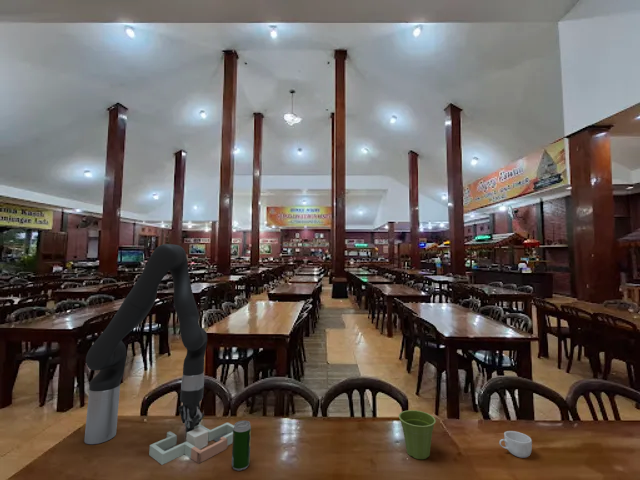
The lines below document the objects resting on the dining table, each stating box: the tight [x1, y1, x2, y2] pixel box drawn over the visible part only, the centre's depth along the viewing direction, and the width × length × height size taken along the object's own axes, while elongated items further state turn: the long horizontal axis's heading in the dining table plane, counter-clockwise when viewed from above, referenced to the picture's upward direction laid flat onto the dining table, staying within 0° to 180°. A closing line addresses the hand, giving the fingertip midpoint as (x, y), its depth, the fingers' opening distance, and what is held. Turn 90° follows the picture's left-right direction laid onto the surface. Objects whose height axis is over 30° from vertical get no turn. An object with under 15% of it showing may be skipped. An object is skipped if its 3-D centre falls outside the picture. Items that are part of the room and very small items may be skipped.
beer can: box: [231, 420, 252, 472], centre depth 94 cm, size 5×5×12 cm
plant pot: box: [398, 409, 437, 460], centre depth 101 cm, size 12×12×11 cm
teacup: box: [498, 430, 533, 459], centre depth 101 cm, size 10×8×5 cm
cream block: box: [185, 427, 209, 450], centre depth 104 cm, size 5×5×4 cm
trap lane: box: [148, 421, 234, 466], centre depth 104 cm, size 20×25×3 cm
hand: (189, 437), depth 107 cm, fingers closed
